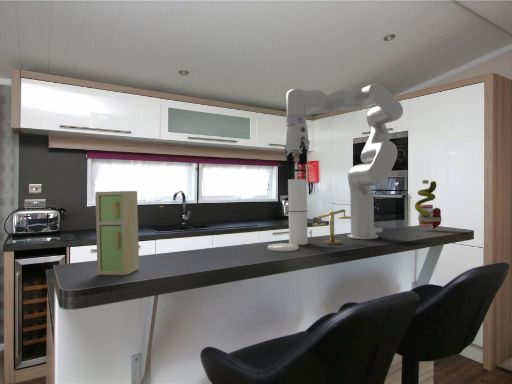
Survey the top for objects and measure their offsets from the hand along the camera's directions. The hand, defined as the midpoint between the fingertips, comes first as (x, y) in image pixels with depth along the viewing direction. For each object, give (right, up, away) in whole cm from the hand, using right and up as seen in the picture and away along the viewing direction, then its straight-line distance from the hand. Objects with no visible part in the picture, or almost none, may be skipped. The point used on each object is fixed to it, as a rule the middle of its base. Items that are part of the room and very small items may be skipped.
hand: (296, 165), depth 125 cm
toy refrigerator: (-52, -31, -43) cm, 74 cm away
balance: (+14, -30, -2) cm, 33 cm away
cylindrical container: (+1, -31, 0) cm, 31 cm away
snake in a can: (+69, -30, +33) cm, 82 cm away
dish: (-6, -31, -12) cm, 33 cm away
